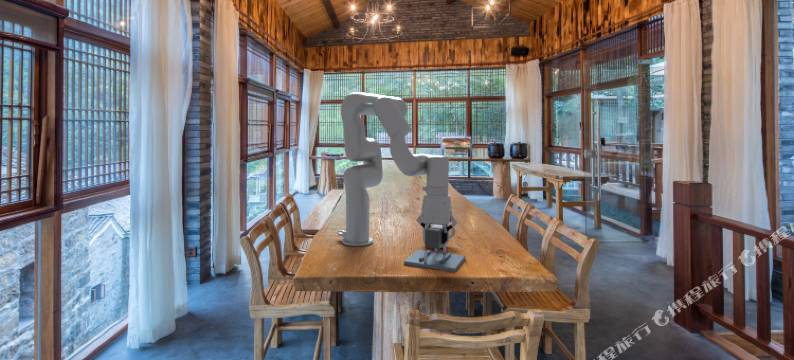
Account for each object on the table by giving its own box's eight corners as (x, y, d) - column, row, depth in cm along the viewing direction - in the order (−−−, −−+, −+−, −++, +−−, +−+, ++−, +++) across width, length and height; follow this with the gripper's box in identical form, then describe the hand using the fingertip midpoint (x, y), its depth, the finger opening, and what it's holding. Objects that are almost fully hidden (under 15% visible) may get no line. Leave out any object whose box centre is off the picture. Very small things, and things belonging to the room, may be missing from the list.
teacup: (425, 251, 158) (426, 230, 157) (418, 243, 168) (419, 224, 167) (460, 249, 161) (461, 229, 160) (451, 242, 171) (452, 223, 170)
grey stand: (403, 264, 142) (404, 249, 141) (417, 252, 156) (418, 239, 155) (454, 271, 135) (455, 256, 135) (464, 258, 149) (465, 244, 148)
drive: (425, 247, 141) (425, 229, 140) (433, 240, 150) (433, 223, 149) (439, 249, 139) (439, 231, 138) (446, 241, 148) (447, 225, 148)
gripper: (410, 191, 142) (409, 242, 144) (459, 194, 136) (457, 247, 138) (417, 188, 149) (416, 237, 151) (464, 191, 143) (462, 242, 145)
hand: (436, 241), depth 144 cm, fingers closed on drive, 5 cm apart
